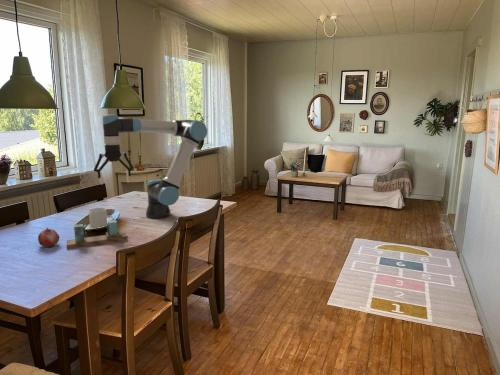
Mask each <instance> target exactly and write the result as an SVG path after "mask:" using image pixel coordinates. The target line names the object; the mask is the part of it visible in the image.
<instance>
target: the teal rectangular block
mask: <svg viewBox="0 0 500 375" xmlns="http://www.w3.org/2000/svg"><path fill="white" fill-rule="evenodd" d="M106 231H107V232H108V234H109V236H111V235H118V231H119V230H118V221H117V220H116V219H113V220H107V227H106Z"/></svg>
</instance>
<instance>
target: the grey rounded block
mask: <svg viewBox="0 0 500 375" xmlns="http://www.w3.org/2000/svg"><path fill="white" fill-rule="evenodd" d="M88 218H89V228H90V227H91V228H98V227H103V226H106V225H107V223H108V220H107V219H108V215H107V209H106V208H104V207H95V208H94V207H93V208H91V209H89V210H88ZM91 228H90V229H91Z"/></svg>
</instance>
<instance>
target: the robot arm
mask: <svg viewBox="0 0 500 375" xmlns="http://www.w3.org/2000/svg"><path fill="white" fill-rule="evenodd" d="M102 128H103V141H104V144H105V145H104V153H99V154H98V159H97V161H96V163H95V165H94V168H93V172H95V173H97V178H98V179H100V185H104V184H103V173H102V171H103V169H104V167H105V166H106V165H107V164H108V163H109V162H110V163H112V162H118V161H119V163H120V164H121V165H123V167H124V168H125V170H126V172H125V173H126V182H127V183H130V178H129V177H131V174H132V173H131V170H133V169H135V168H134V166H133V164H132V162H131V161H130V160H129V158H128V155H127V153H126V152H125V151H124V152H121V148H120V147H121V145H120V134H121V133H154V134H166V135H168V134H169V135H172V136H174V137H179V138H180V140H181V142H180V144H179V146H178V149H177V151H176V154H175V156H174V158H173V160H172V162H171V164H170V167H169V169H168V171H167V173H166V176H164V177H163V178H161V179H160V178H158V179H157V178H156V179H151V180H147V182H146V183H147V184H146V190H147V202H148V203H147V208H146V211H145V217H147V218H149V219H158V220H159V219H164V218H168V217H171V213H172V212H171V210H170V209H171V208H170V206H172V205H174V204H176V203H177V201H178V200H179V198H180V197H179V196H180V191H179V190H180V187H181V185H180V181H181V179H182V177H183V175H184V173H185V170H186V168H187V166H188V164H189V162H190V159H191V157H192V155H193V152H194V150H195V148H196V147H199V145H200V144H201V141H203V140H205V139H206V137H207V135H208V128H207V126H206V124H205V123H204V122H203V121H201V120H198V119H182V120H181V119H180V120H179V119H178V120H176V119H173V120H172V121H168V120H157V119H143V118H138V117H124V116H123V117H121V116H119V117H118V115H117V114H104V115H103V116H102ZM104 157H105V158H106V159H104ZM121 157H123V158H124V159H125V161H126V163H127V164H128V165H129V166H128V165H127V164H126V163H125V162H124V161H123V160H122V159H121ZM102 159H104V162H103V163H102V164H101V161H102ZM100 164H101V165H100Z"/></svg>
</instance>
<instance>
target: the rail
mask: <svg viewBox="0 0 500 375" xmlns="http://www.w3.org/2000/svg"><path fill="white" fill-rule="evenodd" d="M85 229H86V228H85V225H84V224H83V223H79V224H73V230H74V239H68V240H66V249H67V250H68V249H75V248H76V249H77V248H82V247H89V246H94V245H95V246H97V245H103V244H104V245H105V244H110V243H116V242H117V243H119V242H124V241H128V236H127V234H126V232H121V230H118V235H111V236H109V234H108V232H105V234H104V235H98V236H97V235H96V236H89V237H86V231H85Z"/></svg>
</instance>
